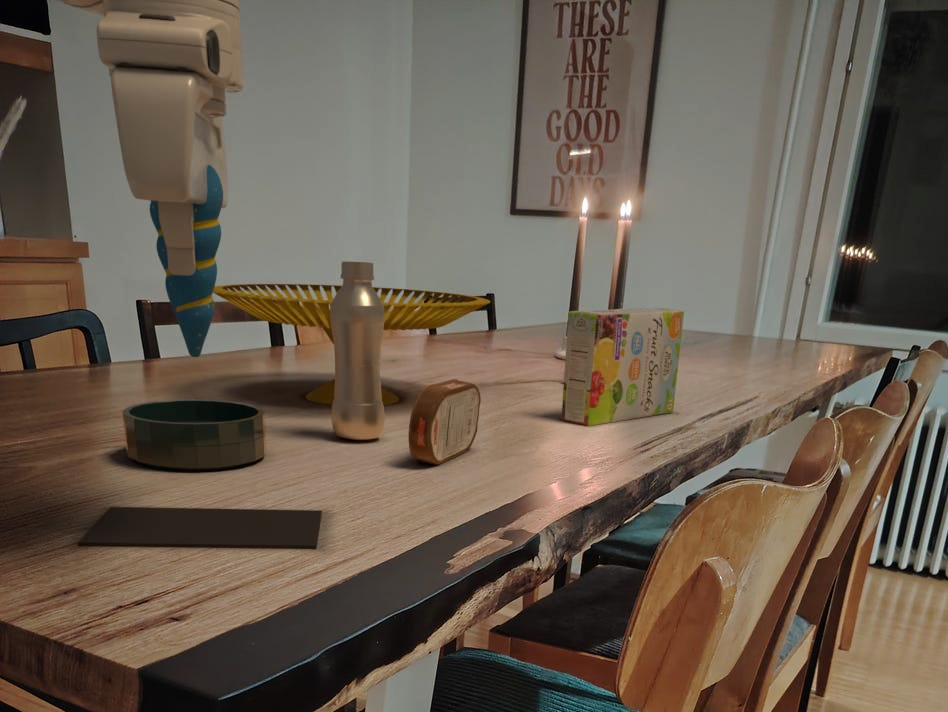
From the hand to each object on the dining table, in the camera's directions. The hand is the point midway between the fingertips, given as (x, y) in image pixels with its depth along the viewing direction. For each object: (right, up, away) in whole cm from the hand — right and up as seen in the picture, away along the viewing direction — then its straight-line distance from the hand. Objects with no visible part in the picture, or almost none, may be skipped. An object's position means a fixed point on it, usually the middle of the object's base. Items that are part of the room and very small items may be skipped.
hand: (190, 273), depth 69 cm
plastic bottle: (+7, -3, +44) cm, 44 cm away
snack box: (+42, +6, +68) cm, 80 cm away
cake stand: (+2, +9, +71) cm, 72 cm away
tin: (+18, -7, +37) cm, 41 cm away
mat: (-1, -18, +8) cm, 20 cm away
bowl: (-9, -8, +31) cm, 33 cm away
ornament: (0, -6, +3) cm, 6 cm away
